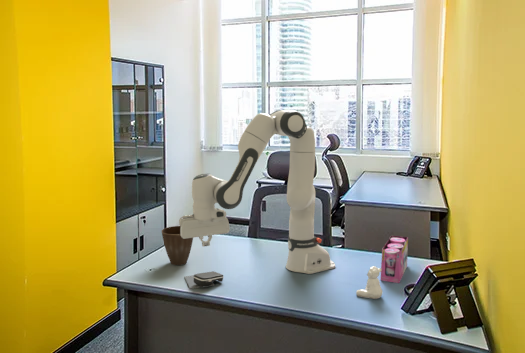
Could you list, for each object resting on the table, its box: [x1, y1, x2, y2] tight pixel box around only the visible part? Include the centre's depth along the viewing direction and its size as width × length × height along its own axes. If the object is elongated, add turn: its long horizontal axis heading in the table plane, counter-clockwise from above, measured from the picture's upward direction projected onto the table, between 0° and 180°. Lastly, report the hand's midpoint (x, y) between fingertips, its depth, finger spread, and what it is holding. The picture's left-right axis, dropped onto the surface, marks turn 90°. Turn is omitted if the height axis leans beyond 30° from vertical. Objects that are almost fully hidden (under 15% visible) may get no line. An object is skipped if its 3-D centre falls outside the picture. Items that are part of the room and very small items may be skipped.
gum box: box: [380, 235, 409, 284], centre depth 188 cm, size 24×8×14 cm, turn 154°
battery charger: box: [193, 270, 224, 287], centre depth 179 cm, size 7×4×11 cm
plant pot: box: [161, 225, 194, 266], centre depth 205 cm, size 15×15×16 cm
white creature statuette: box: [355, 265, 383, 300], centre depth 166 cm, size 10×9×12 cm
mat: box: [184, 274, 215, 290], centre depth 183 cm, size 10×13×1 cm
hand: (206, 245), depth 181 cm, fingers closed
